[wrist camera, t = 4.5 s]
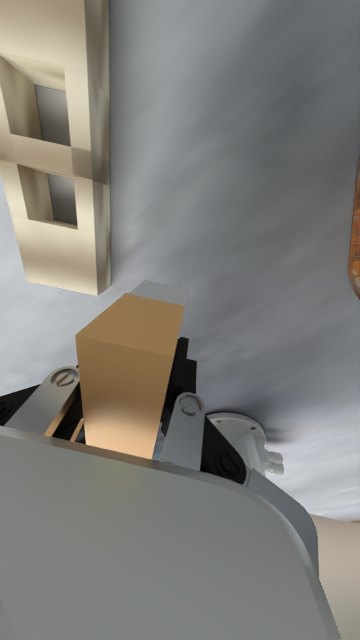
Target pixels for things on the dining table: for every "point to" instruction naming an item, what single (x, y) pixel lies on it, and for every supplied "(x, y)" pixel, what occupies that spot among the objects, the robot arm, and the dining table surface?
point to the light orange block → (129, 367)
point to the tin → (355, 239)
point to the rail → (50, 158)
